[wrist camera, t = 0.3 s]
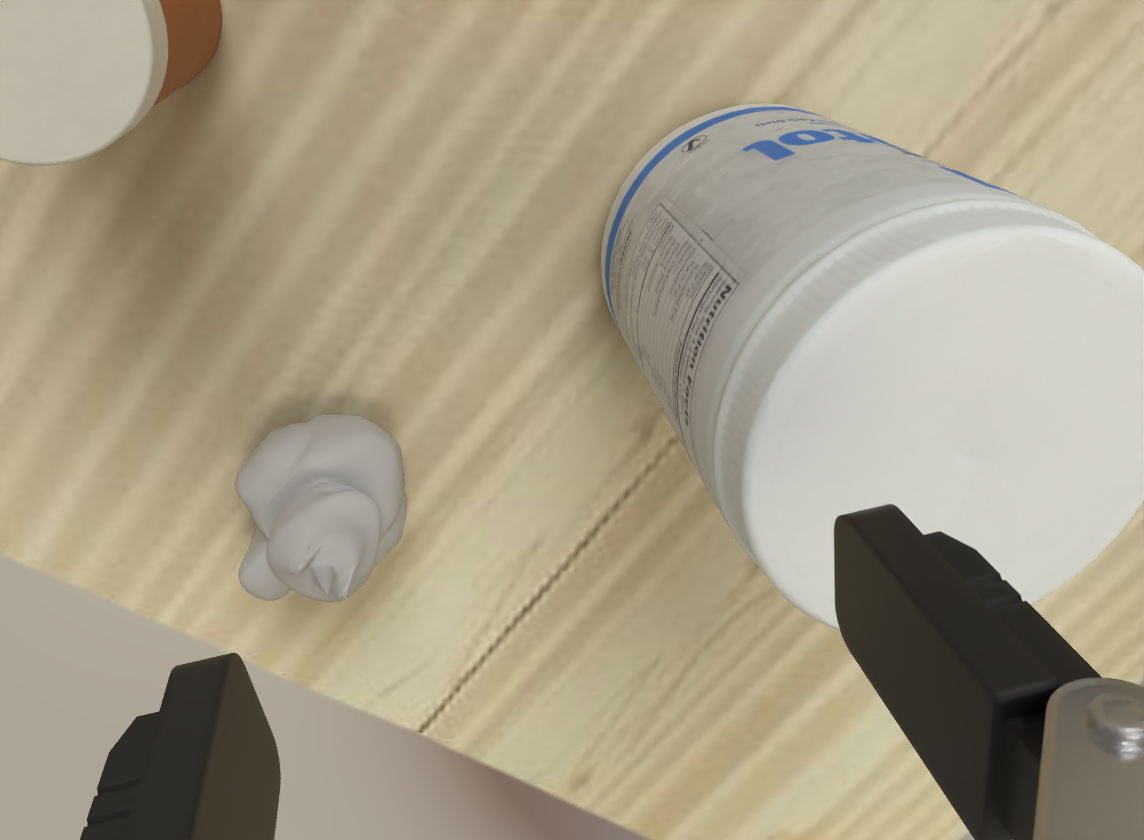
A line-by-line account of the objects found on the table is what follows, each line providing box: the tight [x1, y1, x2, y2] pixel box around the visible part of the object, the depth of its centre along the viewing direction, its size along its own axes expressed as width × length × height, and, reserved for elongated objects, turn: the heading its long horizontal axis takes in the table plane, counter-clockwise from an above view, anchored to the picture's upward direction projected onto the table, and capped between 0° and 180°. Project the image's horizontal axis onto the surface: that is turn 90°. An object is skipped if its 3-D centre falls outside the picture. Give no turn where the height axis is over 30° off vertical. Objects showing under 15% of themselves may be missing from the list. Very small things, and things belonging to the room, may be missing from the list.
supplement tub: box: [601, 103, 1144, 630], centre depth 25 cm, size 10×10×15 cm
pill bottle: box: [0, 0, 222, 165], centre depth 21 cm, size 5×5×10 cm
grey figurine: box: [235, 414, 407, 602], centre depth 29 cm, size 5×7×8 cm
